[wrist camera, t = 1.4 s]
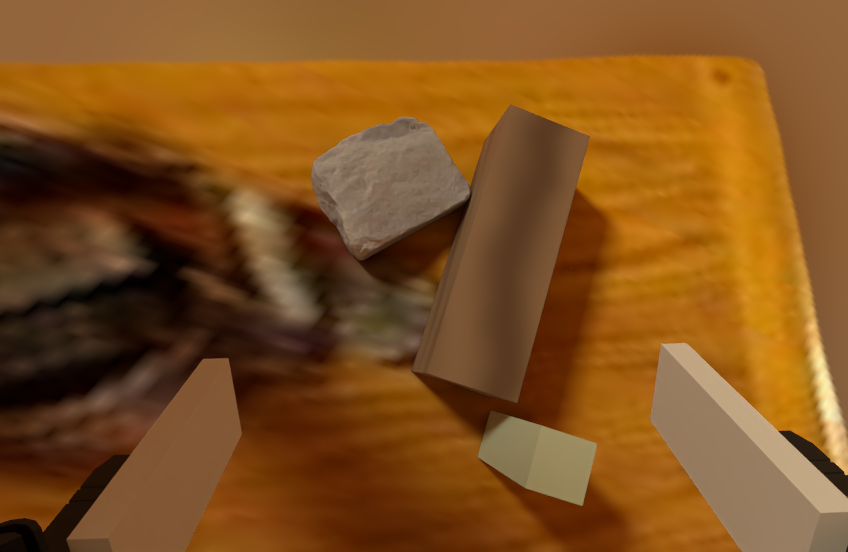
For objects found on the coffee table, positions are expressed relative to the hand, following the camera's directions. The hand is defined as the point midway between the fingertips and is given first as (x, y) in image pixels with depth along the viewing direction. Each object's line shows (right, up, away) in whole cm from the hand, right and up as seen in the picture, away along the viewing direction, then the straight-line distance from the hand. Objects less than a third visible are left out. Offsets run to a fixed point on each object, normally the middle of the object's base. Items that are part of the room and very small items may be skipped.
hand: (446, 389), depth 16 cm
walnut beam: (+5, +5, +30) cm, 31 cm away
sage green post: (+6, -10, +28) cm, 31 cm away
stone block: (-4, +11, +30) cm, 33 cm away
